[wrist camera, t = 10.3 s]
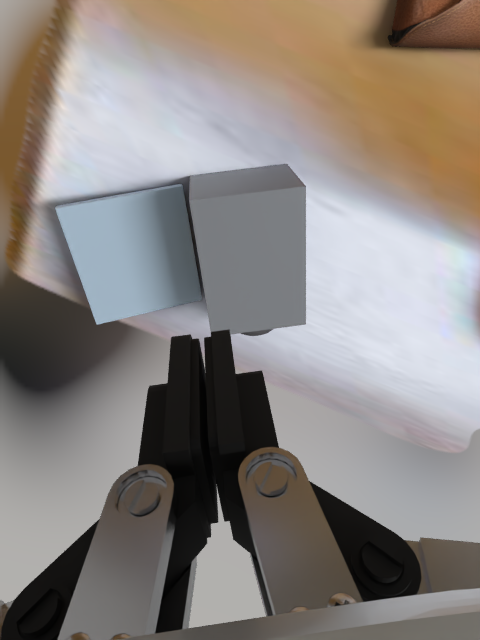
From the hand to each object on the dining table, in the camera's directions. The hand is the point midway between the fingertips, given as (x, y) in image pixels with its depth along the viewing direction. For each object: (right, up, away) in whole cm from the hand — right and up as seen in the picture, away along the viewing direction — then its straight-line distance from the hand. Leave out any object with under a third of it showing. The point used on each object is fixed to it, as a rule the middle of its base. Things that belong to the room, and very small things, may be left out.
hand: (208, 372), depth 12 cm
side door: (-4, +9, +28) cm, 29 cm away
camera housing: (+1, +10, +29) cm, 30 cm away
